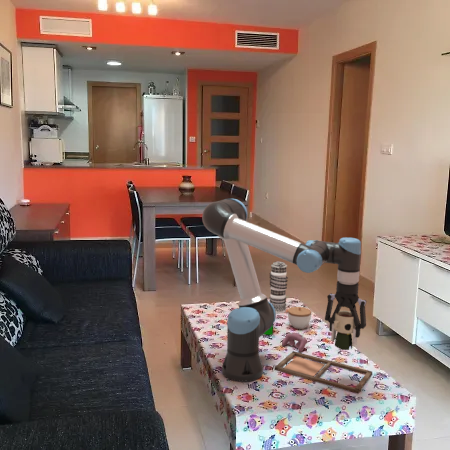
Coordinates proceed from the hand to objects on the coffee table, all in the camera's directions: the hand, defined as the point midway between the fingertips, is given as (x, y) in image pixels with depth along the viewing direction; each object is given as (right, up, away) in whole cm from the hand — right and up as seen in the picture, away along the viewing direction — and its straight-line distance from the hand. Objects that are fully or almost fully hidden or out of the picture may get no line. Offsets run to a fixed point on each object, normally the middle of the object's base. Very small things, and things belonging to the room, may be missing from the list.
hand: (343, 342), depth 178 cm
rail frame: (-6, -12, +6) cm, 15 cm away
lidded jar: (-9, -5, +51) cm, 52 cm away
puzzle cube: (-26, -6, +45) cm, 53 cm away
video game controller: (-14, -9, +28) cm, 32 cm away
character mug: (0, -2, 0) cm, 2 cm away
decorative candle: (-16, -1, +72) cm, 74 cm away
